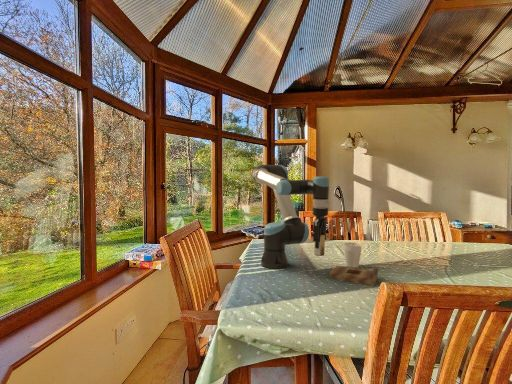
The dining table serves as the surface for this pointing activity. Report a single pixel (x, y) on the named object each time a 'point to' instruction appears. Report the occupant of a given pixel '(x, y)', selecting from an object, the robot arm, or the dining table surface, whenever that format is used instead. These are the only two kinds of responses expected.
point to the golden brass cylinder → (322, 240)
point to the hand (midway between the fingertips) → (319, 252)
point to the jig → (355, 275)
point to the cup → (352, 254)
